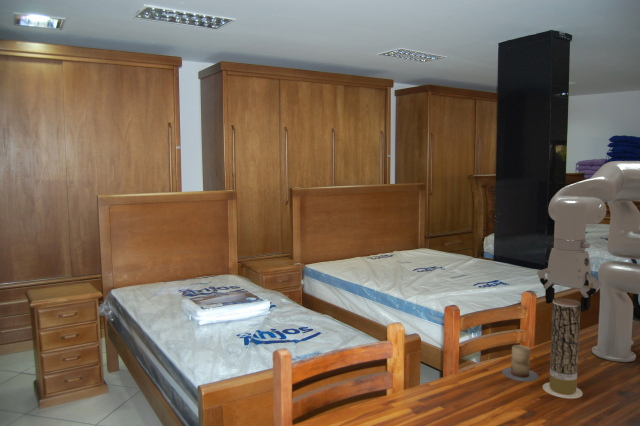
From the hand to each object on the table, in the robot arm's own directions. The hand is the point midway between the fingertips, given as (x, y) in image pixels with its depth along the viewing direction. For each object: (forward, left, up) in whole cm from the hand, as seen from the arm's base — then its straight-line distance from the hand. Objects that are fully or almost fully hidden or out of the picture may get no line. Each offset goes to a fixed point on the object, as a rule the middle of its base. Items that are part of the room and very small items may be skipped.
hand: (566, 306), depth 137 cm
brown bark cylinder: (0, 0, -24) cm, 24 cm away
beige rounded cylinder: (0, -13, -24) cm, 27 cm away
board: (0, -6, -25) cm, 26 cm away
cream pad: (0, 0, -25) cm, 25 cm away
